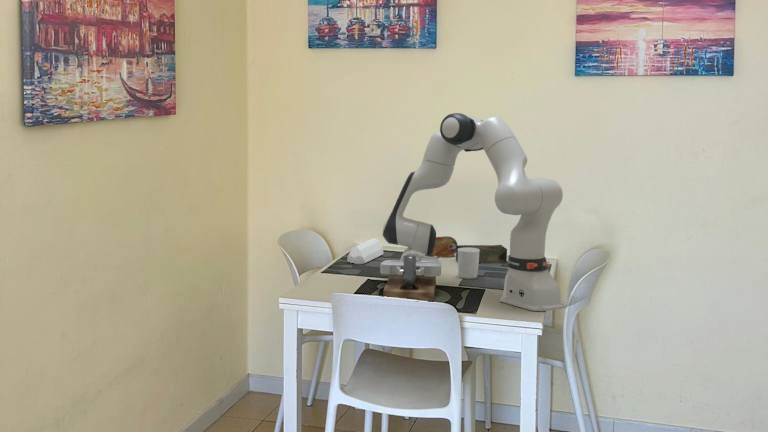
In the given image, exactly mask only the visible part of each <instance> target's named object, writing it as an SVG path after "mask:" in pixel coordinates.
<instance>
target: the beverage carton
mask: <svg viewBox="0 0 768 432" xmlns="http://www.w3.org/2000/svg"><path fill="white" fill-rule="evenodd" d="M459 248H477V249H479V250H480V252H479V263H483V264H508V249H507V248H506V247H505V246H504V245H503V244H493V245H492V244H491V245H487V244H480V245H478V244H477V245H476V244H475V245H474V244H472V245H471V244H470V245H469V244H465V245H463V244H461V245H458V244H457V248H456V253H455V261H456V262H458V249H459Z"/></svg>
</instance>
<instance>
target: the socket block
mask: <svg viewBox="0 0 768 432" xmlns="http://www.w3.org/2000/svg"><path fill="white" fill-rule="evenodd" d="M436 286H437V276H421V277H416V290H403V275H389V276H388V279H387V281H386V283H385V285H384V288H383V291H382V292H383V293H382V297H383V296H387V297H399V298H407V299H417V300H427V301H433V302H434V299H435V293H436Z"/></svg>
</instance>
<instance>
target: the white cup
mask: <svg viewBox="0 0 768 432" xmlns="http://www.w3.org/2000/svg"><path fill="white" fill-rule="evenodd" d="M479 252H480V250H479V249H477V248H459V249H458V261H457V268H458V277H459V278H460V279H468V280H469V279H472V280H473V279H477V278H478V274H479V273H478V271H479Z"/></svg>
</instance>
